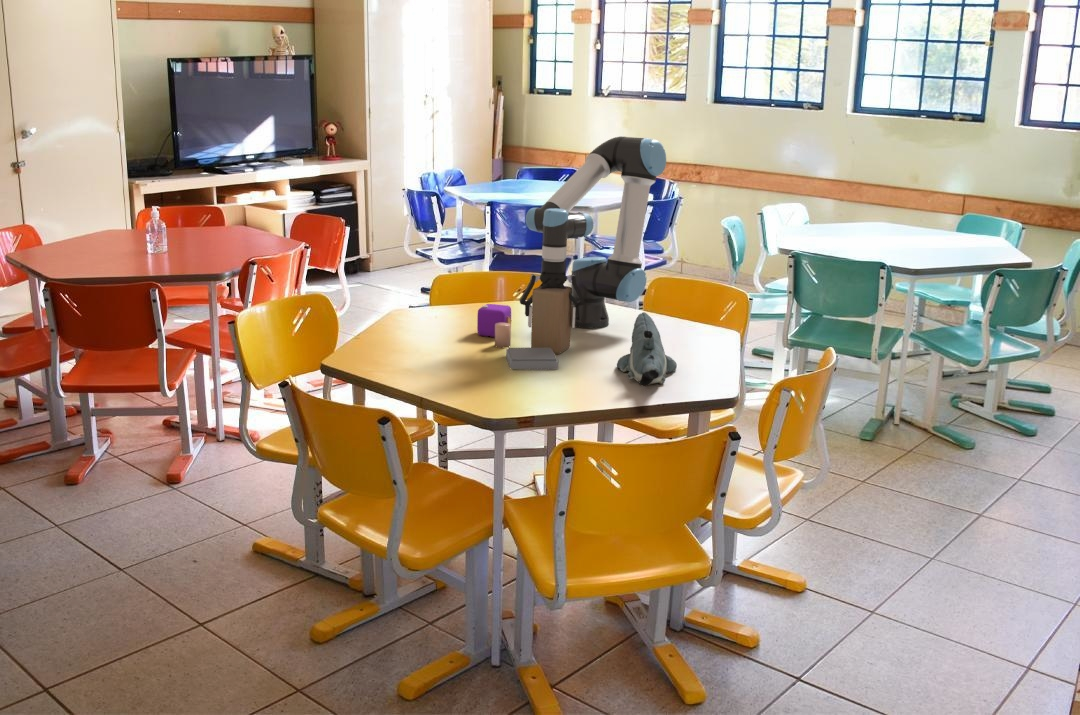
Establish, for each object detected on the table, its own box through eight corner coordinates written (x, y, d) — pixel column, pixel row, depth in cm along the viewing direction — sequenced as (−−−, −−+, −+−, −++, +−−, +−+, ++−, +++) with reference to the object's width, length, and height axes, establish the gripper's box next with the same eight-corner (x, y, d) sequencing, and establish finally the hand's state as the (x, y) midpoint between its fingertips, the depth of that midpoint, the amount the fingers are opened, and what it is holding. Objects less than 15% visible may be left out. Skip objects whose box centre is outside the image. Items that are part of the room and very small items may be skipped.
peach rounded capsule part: (509, 343, 337) (510, 322, 335) (511, 347, 332) (511, 326, 330) (494, 343, 336) (494, 322, 335) (495, 347, 332) (495, 326, 330)
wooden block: (571, 348, 334) (573, 286, 329) (559, 355, 325) (561, 292, 320) (542, 344, 338) (543, 283, 332) (529, 351, 329) (531, 288, 323)
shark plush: (678, 366, 318) (682, 314, 313) (661, 404, 281) (664, 346, 277) (621, 360, 322) (623, 309, 317) (596, 397, 285) (599, 340, 281)
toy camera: (514, 329, 356) (514, 300, 353) (508, 339, 342) (509, 309, 340) (482, 327, 357) (482, 298, 354) (476, 337, 343) (476, 307, 341)
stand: (551, 356, 324) (551, 347, 323) (557, 369, 310) (558, 359, 309) (506, 356, 322) (506, 347, 321) (510, 369, 309) (510, 359, 308)
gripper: (591, 258, 329) (588, 324, 334) (512, 256, 326) (510, 323, 331) (596, 262, 322) (592, 329, 327) (514, 261, 318) (512, 329, 324)
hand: (551, 326), depth 329 cm, fingers open, 13 cm apart
